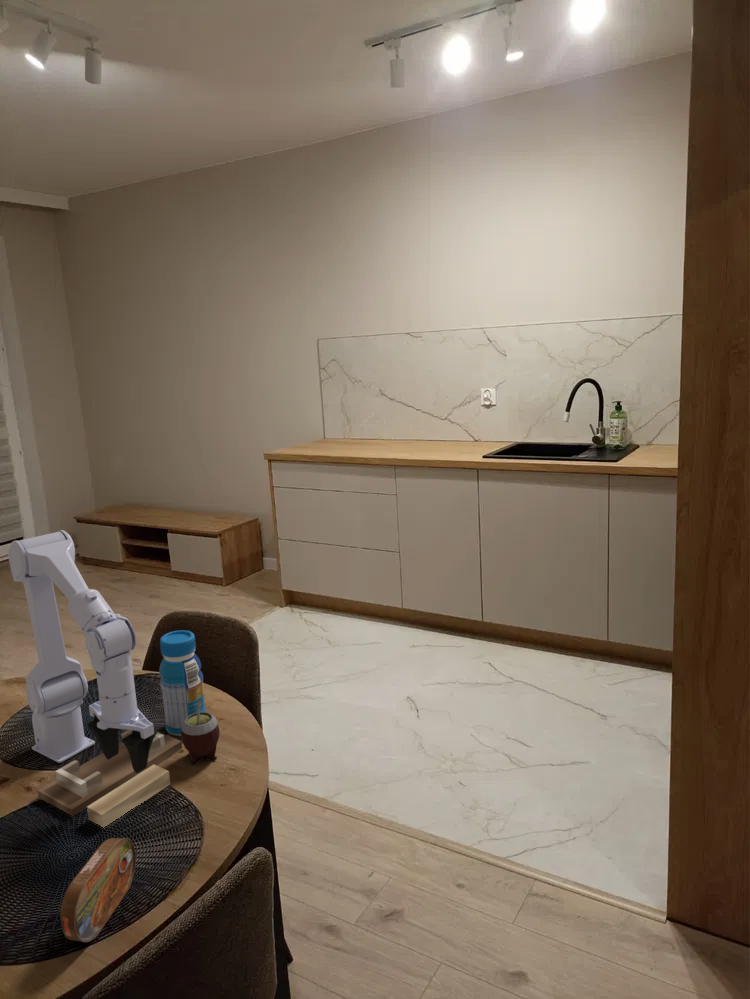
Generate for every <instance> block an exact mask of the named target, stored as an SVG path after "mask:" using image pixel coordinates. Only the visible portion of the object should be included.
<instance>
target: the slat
mask: <svg viewBox="0 0 750 999" xmlns="http://www.w3.org/2000/svg"><path fill="white" fill-rule="evenodd" d="M170 778H171V777H170V771H169V770H167V769H165V768H163V767H161V766H159V765H158V764H157V765H152V766H151V767H149V768H147V769H146V770H144V771H143V772H141V773H140V774H138V775H136V776H135V777H133V778H132V779H130V780H128V781H127V782H125V783H124V784H122V785H121V786H119V787H117V788H116V789H114V790H113V791H111V792H109V793H108V794H106V795H105V796H103V797H102V798H100V799H98V800H97V801H95V802H94V803H92V804H90V805H89V806H87V809H86V810H87V817H88V821H89V820H90V821H92V822H94V823H96V824H98V825H100V826H101V827H103V828H104V827H105V826H107V825H109V824H110V823H112V822H113V821H115V820H116V819H118V818H119V819H121V818H122V817H124V816H125V815H126V814H125V813H127V812H128V811H130V810H131V809H133V808H134V809H136V808H137V807H139V806H140V805H142V804H143V803H144V801H145V802H146V801H147V800H149V799H151V798H152V797H153V796H155V795H156V794H158V793H159V792H161V791H163V790H164V789H165V788H167V787H168V786H170V785H171V780H170ZM141 803H142V804H141ZM138 805H139V806H138ZM136 806H137V807H136ZM135 807H136V808H135ZM134 809H133V810H134ZM131 811H132V810H131ZM131 811H130V812H131ZM128 813H129V812H128ZM128 813H127V814H128ZM124 814H125V815H124ZM123 815H124V816H123ZM121 816H122V817H121ZM120 817H121V818H120ZM119 819H118V820H119ZM90 821H89V822H90ZM116 821H117V820H116ZM116 821H115V822H116ZM92 822H91V823H92ZM94 823H93V824H94ZM113 823H114V822H113ZM113 823H112V824H113ZM96 824H95V825H96ZM98 825H97V826H98ZM110 825H111V824H110ZM110 825H109V826H110ZM101 827H100V828H101ZM107 827H108V826H107ZM103 828H102V829H103ZM104 829H105V828H104Z"/></svg>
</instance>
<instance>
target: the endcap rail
mask: <svg viewBox="0 0 750 999" xmlns="http://www.w3.org/2000/svg"><path fill="white" fill-rule="evenodd" d="M130 734H132V730H126V731H124V732H123V733H121V740H122V739H123V738H125V737H127V736H128V735H130ZM182 749H183V742H182V740H179V739H177V738H174V737H172V736H170V735H168V734H165V733H163V732H160V731H158V730H157V734H156V735H155V737H154V739H153V742H152V744H151V747H150V751H149V756H148V762H147V768H149V767H151V766H152V765H157V766H158V764H160V763H162V761H164V760H167V759H168V758H169V757H171V756H172V755H174V754H175V753H177V752H179V751H180V750H182ZM147 768H145V769H143V770H142V771H140V772H139V773H136V772H134V770H133V767H132V763H131V758H130V755H129V752H128V750H127V748H126V746H125V745H124V744H123V742H122V741H121V742H119V752H118V754H117V755H115V756H114V757H112V758H110V759H106V757H105V755H104V753H103V752H102V753H100V754H98V755H97V756H95V757H93V758H90V760H88V761H86V762H84V763H83V764H80V763H79V761H78V760H76V759H75V760H72V761H71V762H69V763H67V764H65V765H63V766H62V767H60V768H58V769H57V770H55V771H54V774H55V780H53V781H51V782H49V783H48V784H46V785H44V786H42V787H41V788H39V789H37V796H38V799H40V800H41V801H43V800H44V801H43V802H45V801H46V802H45V803H47V804H48V803H49V805H50V804H51V805H50V806H52V805H53V806H52V807H54V806H55V807H57V808H59V809H61V810H63V811H64V812H66V813H68V814H70V815H72V816H74V815H76V814H77V813H79V812H81V811H82V812H84V811H85V810H87V809H86V808H87V806H89V805H90V804H92V803H94V802H95V801H97V800H98V799H100V798H102V797H103V796H105V795H106V794H108V793H109V792H111V791H113V790H114V789H116V788H117V787H119V786H121V785H122V784H124V783H125V782H127V781H128V780H130V779H132V778H133V777H135V776H136V775H138V774H140V773H141V772H143V771H144V770H146V769H147ZM55 807H54V808H55ZM57 808H56V809H57ZM59 809H58V810H59ZM84 809H85V810H84ZM61 810H60V811H61ZM83 810H84V811H83ZM64 812H63V813H64ZM82 812H81V813H82ZM66 813H65V814H66ZM68 814H67V815H68ZM79 814H80V813H79ZM77 815H78V814H77ZM77 815H76V816H77ZM74 817H75V816H74Z"/></svg>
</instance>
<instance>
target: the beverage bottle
mask: <svg viewBox="0 0 750 999" xmlns="http://www.w3.org/2000/svg"><path fill="white" fill-rule="evenodd" d="M159 641H160V642H159V645H160V653H161V656H162V657H163V658H162V660H161V662H160V666H159V675H160V676H161V677H160V680H159V686H160V689H161V694H162V704H163V712H164V725H165V730H166V731H167V733H168V734H170V735H172V736H177V737H181V729H182V725H183V723H184V721H185V719H186V718H187V717H188V716H190V715H192V714H194V713H197V708H196V704H197V702H198V700H199V699H202V701H201V708H200V712H206V704H205V703H206V702H205V694H204V693H205V692H204V675H203V672H202V671H201V669H202V663H201V661H200V658H199V656H198V655H197V654H196V653H195V651H196V647H197V646H196V645H197V644H196V636H195V633H193V632H192V631H190V630H183V629H182V630H181V629H180V630H174V631H170V632H167V633H165V634H163V635H162V636H161V637H160V640H159Z"/></svg>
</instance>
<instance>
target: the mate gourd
mask: <svg viewBox="0 0 750 999" xmlns="http://www.w3.org/2000/svg"><path fill="white" fill-rule="evenodd" d="M201 701H202V699H199V700H198V702H197V704H196V708H197V713H194V714H192V715H190V716H188V717H187V718H186V719H185V721H184V723H183V725H182V729H181V736H180V738H181V741H182V745H183V746H184V748H185V750H187V752H188V755H189V756H190V758H191V762H190V765H191V766H196V765H197V764H198V763H199V762H201V761H202V760H203V759H204V760H205V759H206V760H209V761H213V762H215V761H217V760H218V756H216V752H217V745H218V742H219V738H220V736H221V735H220V726H219V722H218V720H217V718H216V717H215V716H214V715H213V714H212V713H210V712H206V711H205V712H200V708H201Z"/></svg>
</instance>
